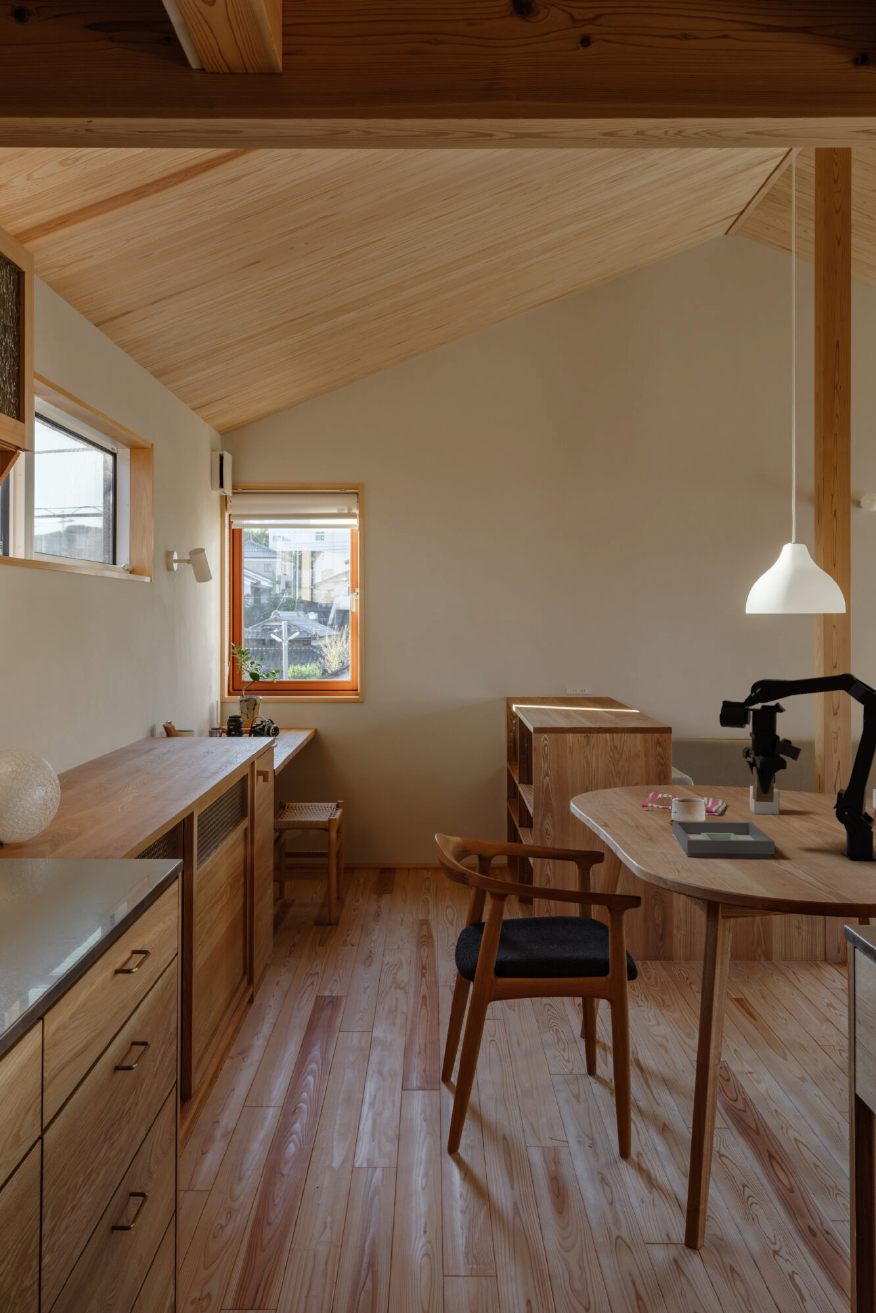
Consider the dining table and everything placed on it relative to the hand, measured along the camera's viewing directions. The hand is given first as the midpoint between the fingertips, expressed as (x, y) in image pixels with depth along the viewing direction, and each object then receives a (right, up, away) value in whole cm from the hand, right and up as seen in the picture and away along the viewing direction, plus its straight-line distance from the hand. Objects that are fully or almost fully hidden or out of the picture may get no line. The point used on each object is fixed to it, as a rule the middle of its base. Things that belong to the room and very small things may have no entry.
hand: (762, 792), depth 209 cm
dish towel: (-6, -13, +47) cm, 49 cm away
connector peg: (0, -2, 0) cm, 2 cm away
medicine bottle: (+16, -12, +39) cm, 44 cm away
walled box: (-10, -14, 0) cm, 17 cm away
